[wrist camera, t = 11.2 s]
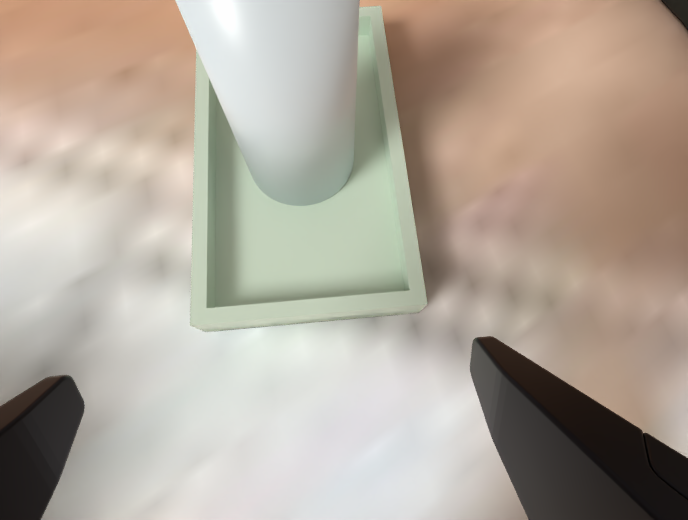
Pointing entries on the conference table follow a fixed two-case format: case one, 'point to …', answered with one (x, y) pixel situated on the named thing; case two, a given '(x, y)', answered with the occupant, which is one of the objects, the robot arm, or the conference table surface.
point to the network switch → (679, 9)
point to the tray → (306, 220)
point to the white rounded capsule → (284, 87)
